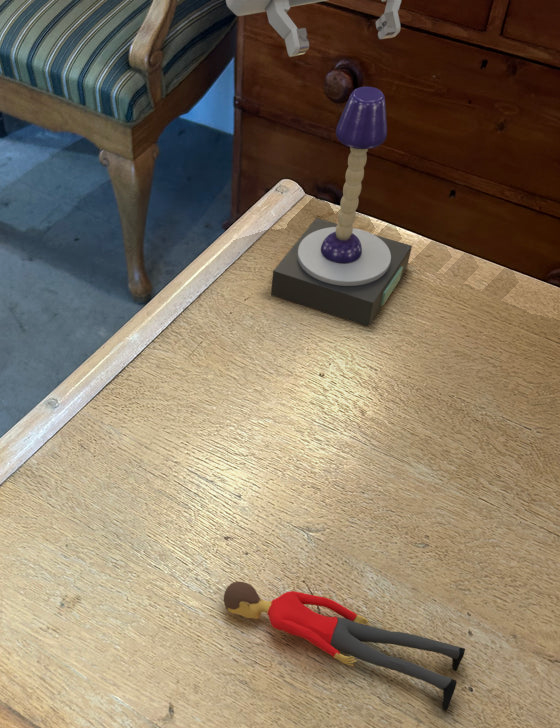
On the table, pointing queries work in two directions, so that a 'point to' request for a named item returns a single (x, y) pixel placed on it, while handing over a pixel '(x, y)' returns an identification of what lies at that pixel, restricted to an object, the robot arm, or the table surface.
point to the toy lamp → (355, 166)
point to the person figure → (342, 632)
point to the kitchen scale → (341, 274)
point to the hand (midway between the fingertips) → (345, 44)
